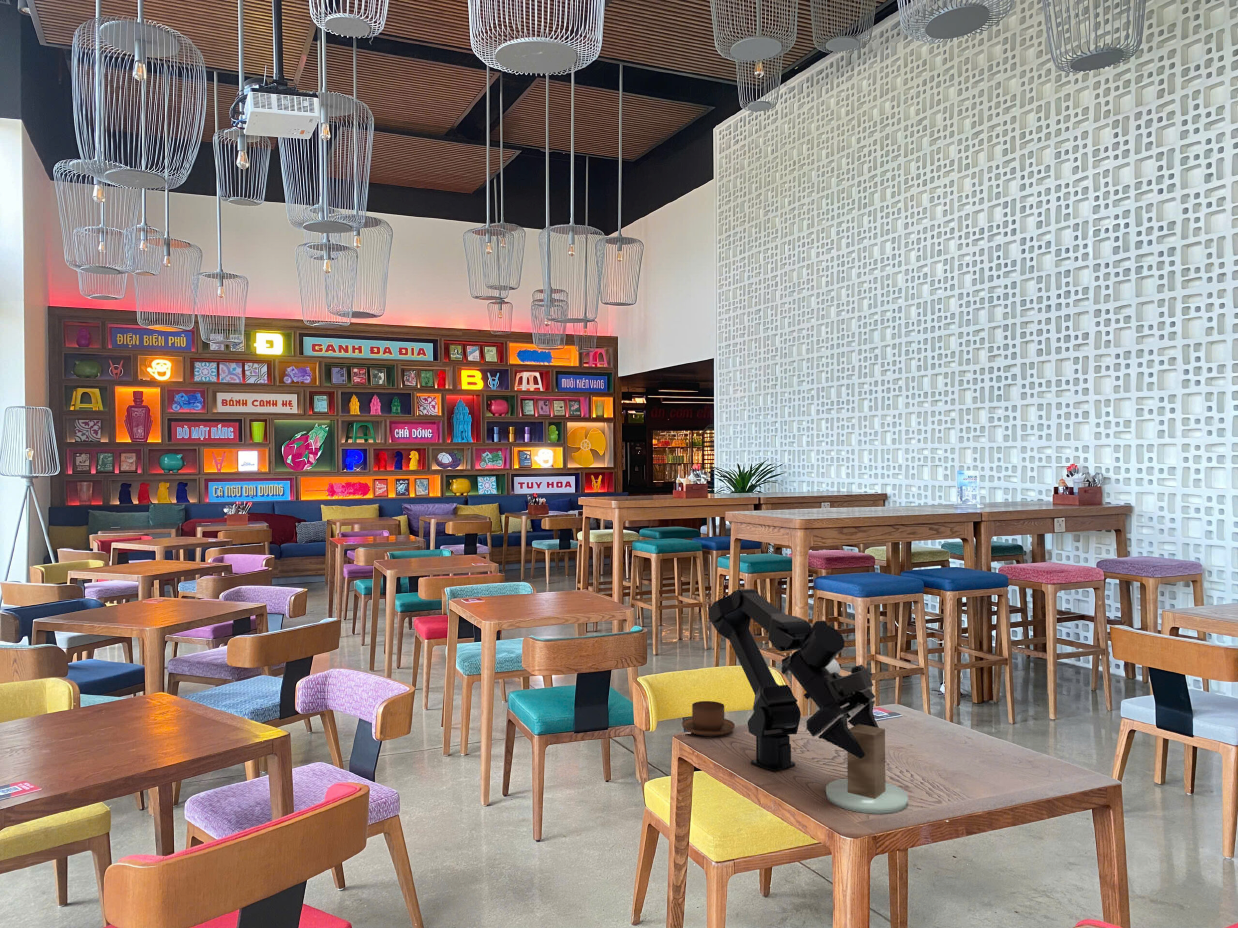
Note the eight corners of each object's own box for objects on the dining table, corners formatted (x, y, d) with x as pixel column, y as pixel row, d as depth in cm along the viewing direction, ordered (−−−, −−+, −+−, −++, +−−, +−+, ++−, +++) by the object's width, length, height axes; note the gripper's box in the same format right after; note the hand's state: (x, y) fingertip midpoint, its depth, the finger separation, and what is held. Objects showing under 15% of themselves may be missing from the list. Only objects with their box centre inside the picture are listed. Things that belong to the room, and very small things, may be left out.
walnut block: (847, 792, 147) (847, 730, 148) (858, 784, 151) (858, 723, 152) (875, 798, 144) (874, 735, 145) (885, 790, 148) (884, 728, 148)
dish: (809, 795, 149) (809, 788, 149) (858, 779, 157) (858, 772, 157) (875, 820, 138) (875, 812, 138) (924, 801, 146) (924, 794, 146)
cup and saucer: (672, 728, 192) (672, 701, 192) (716, 722, 197) (716, 696, 197) (698, 742, 181) (698, 714, 181) (745, 736, 186) (744, 708, 186)
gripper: (822, 660, 144) (885, 736, 136) (864, 644, 158) (923, 712, 151) (781, 698, 148) (840, 774, 141) (826, 680, 163) (881, 747, 156)
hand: (873, 750), depth 147 cm, fingers open, 9 cm apart
